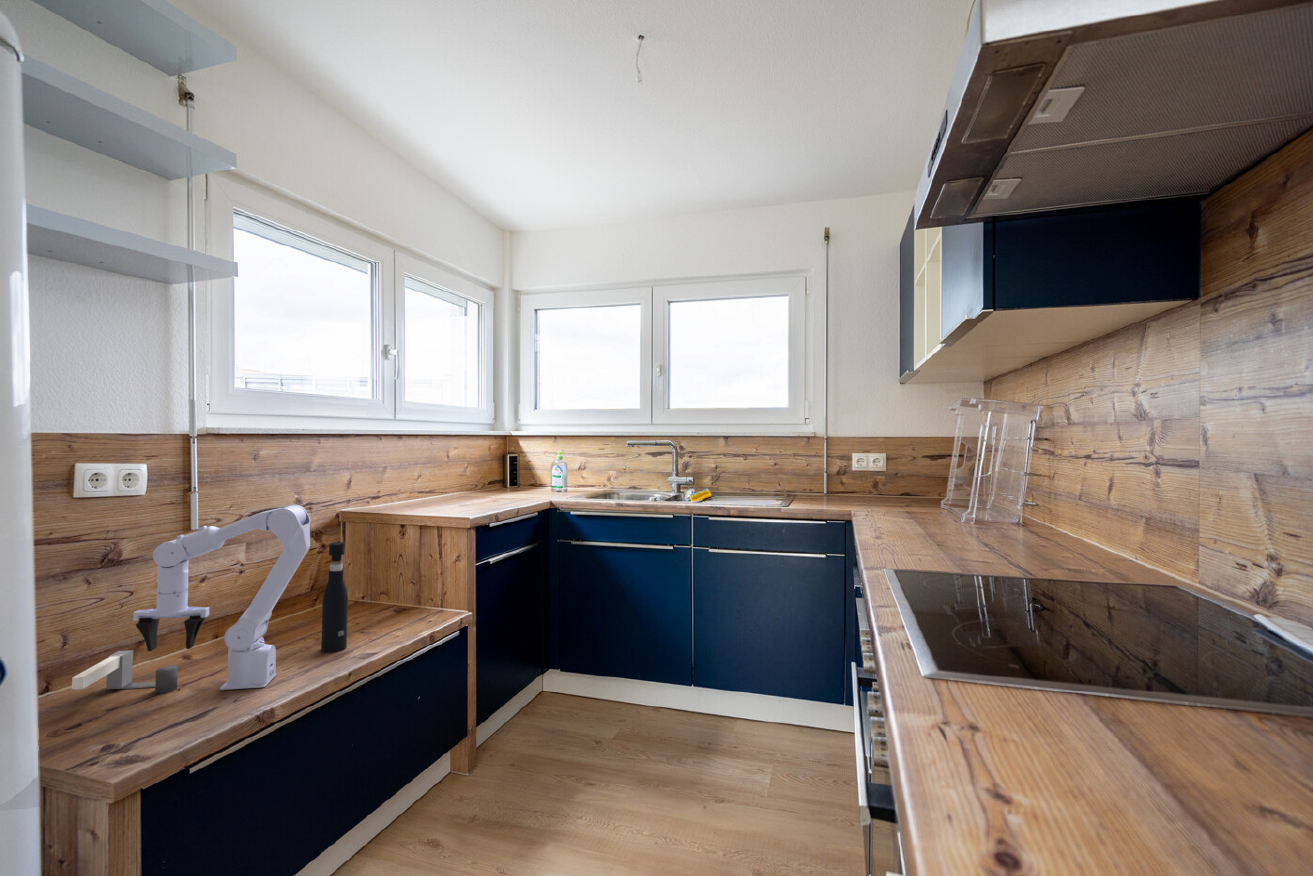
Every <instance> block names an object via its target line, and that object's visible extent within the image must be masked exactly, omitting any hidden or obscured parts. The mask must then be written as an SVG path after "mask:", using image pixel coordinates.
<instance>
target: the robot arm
mask: <svg viewBox="0 0 1313 876" xmlns="http://www.w3.org/2000/svg"><path fill="white" fill-rule="evenodd" d="M311 521H312V519H311V518H310V515H309V513H308V512H307V510H306V509H305V507H303V506H301V505H298V504H289V505H286V506H285V507H279V508H273V509H269V510H266V511H262V512H259V513H256V514H253V515H251V516H249V517H246V518H243V519H241V520H238V521H235V522H233V523H231V524H228V525H226V526H223V527H221V528H220V527H218V526H215V525H214V526H213V525H210V526H207V525H202V526H200V527H198V528H197V531H194V532H191V533H188V534H186V535H184V534H180V535H177V536H176V538H175V539H173V540H170V541H164V542H163V543H161V544H159V545H158V546H156V547H155V548H154V550H153V552H152V559H153V561H154V563H156V565H157V578H156V579H157V580H156V581H157V582H156V583H157V584H156V608H149V609H137V610H136V611H134V612H133V614H132V615H133V619H132V620H133V621H137V623H135V627H136V629H137V630H138V631H139V632H140V634H141V635H142V637H143V639H144V640H143V641H144V642H145V645H146V647H147V652H152V651H154V650H156V649H157V643H158V628H159V623H160V619H161V620H162V619H181V618H187V619H186V620H184V621H183V623H184V627H185V636H186V637H185V649H186V650H190V649H192V648H193V647H194V646H195V641H196V639H197V635H198V633H199V631H200V628H201V626H202V625H203V623H204V621H205V620H206V618H207V617H209V616H210V606H208V607H206V606H205V607H204V606H203V607H202V606H188V602H189V601H188V600H189V563H190V560H191V559H195V558H197V557H200V556H203V555H205V554H208V553H211V552H213V551H216V550H219V549H221V548H222V547H223V546H224V545H225V543H226V541H227V540H229V539H232V538H235V537H238V536H240V535H244V534H246V533H249V532H252V531H254V530H259V531H265V532H267V531H271V533H272V534H274V535H275V536H276V537H277V538H278V539H279V541H280V542H281V545H282V547H283V550H282V552H281V554H280V555H279V557H278V558H277V561H276V562H275V564H274V565H273V567H272V569H271V570H270V571H269V573H268V575H267V577H266V579H265V580H264V581H263V583H262V585H261V586H260V588H259V590H258V591H257V593H256V595H255V597H254V598H253V600H252V601H251V603H250V605H249V606H248V607H247V609H246V610H245V611H244V612H243V614H242V615H241V616H240V617H239V619H238V620H237V622H236V623H235V624H233V625H232V626H230V627H229V628H228V629H226V631H225V633H224V638H223V640H224V644H225V645H226V647H228V649H227V650H228V651H227V652H228V653H227V681H226V682H225V683H224V684H222V686H221V687H220V688H219V690H220V691H226V690H239V689H241V690H242V689H243V690H244V689H257V688H265V687H266V686H267V685H268V684H269V683H270V682H271V681H272V680H273V679H274V678H275V677H276V676H277V673H276V670H277V669H276V667H277V665H276V664H277V663H276V662H277V648H276V645H274V644H266V643H265V639H264V635H265V634H266V632H267V631H268V629H269V620H270V618H271V617H272V614H273V613H272V612H273V610H274V608H275V606H276V605H277V603H278V601H279V600H280V598H281V597H282V595H283V593H284V592H285V590H286V588H287V586H288V585H289V583H290V581H291V580H292V578H293V577H294V574H295V573H296V571H297V570H298V568H299V567H300V565H301V563H302V562H303V560H304V559H305V557H306V555H307V553H308V552H309V550H310V547H311V532H310V531H311V529H310V528H311V527H310V526H311Z"/></svg>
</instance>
